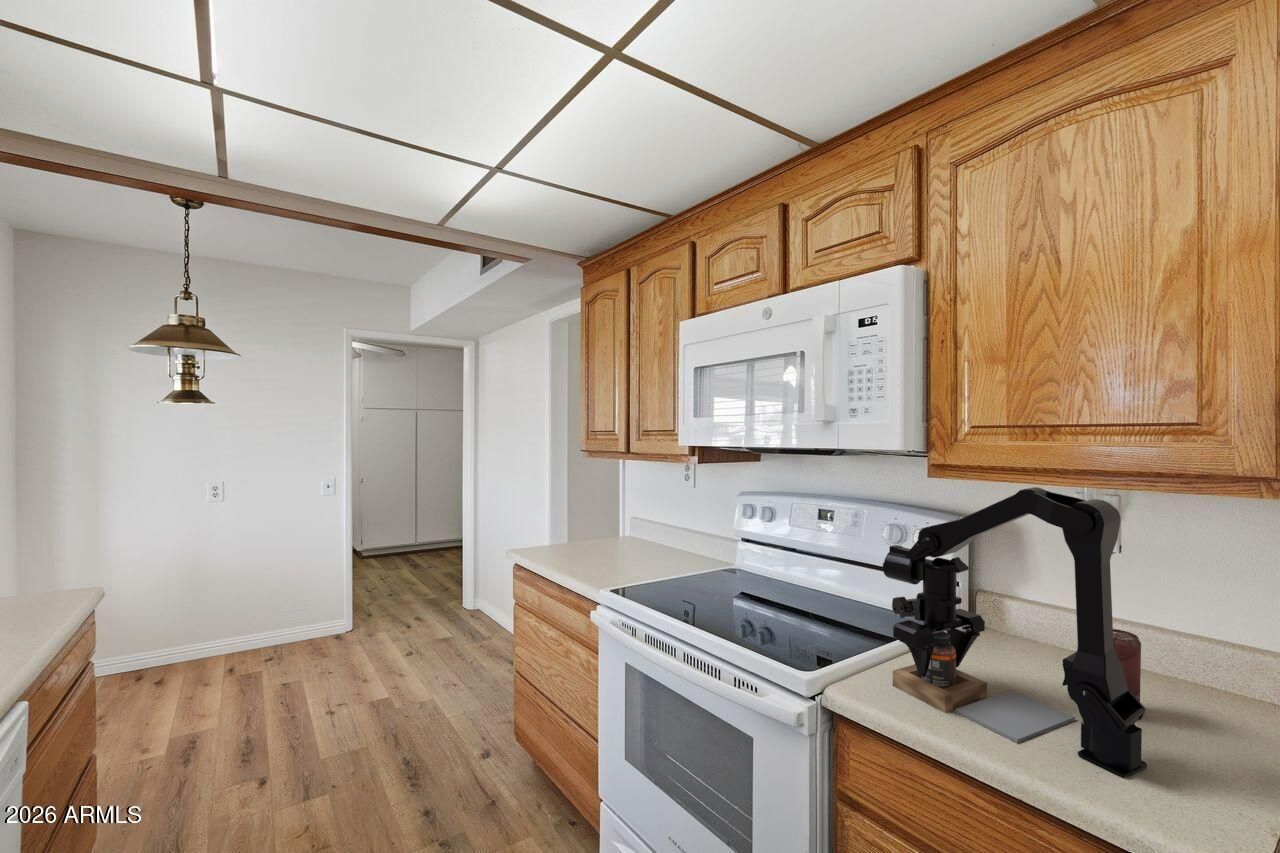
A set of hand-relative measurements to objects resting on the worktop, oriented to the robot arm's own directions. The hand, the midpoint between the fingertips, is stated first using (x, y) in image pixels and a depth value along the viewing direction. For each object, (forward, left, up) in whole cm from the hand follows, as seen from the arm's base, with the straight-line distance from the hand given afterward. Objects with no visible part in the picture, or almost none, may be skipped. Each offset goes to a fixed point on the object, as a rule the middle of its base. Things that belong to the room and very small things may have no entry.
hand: (938, 671), depth 114 cm
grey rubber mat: (-12, -4, -4) cm, 13 cm away
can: (-19, -22, -4) cm, 29 cm away
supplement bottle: (0, 0, -4) cm, 4 cm away
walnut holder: (0, 0, -4) cm, 4 cm away
